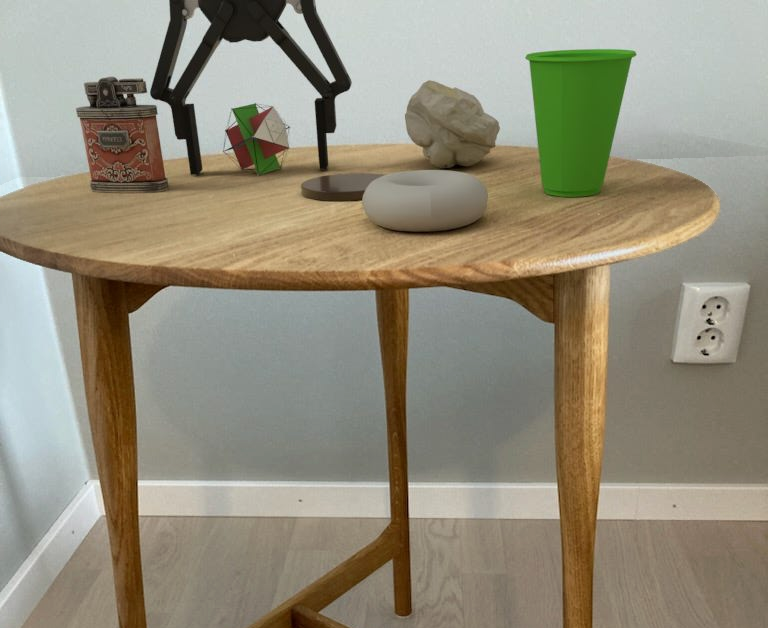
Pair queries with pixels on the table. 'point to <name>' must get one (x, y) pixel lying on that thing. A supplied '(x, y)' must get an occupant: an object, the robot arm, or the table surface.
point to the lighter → (121, 138)
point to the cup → (577, 115)
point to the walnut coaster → (338, 186)
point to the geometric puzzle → (257, 138)
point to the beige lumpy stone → (450, 125)
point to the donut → (425, 200)
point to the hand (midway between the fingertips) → (260, 170)
